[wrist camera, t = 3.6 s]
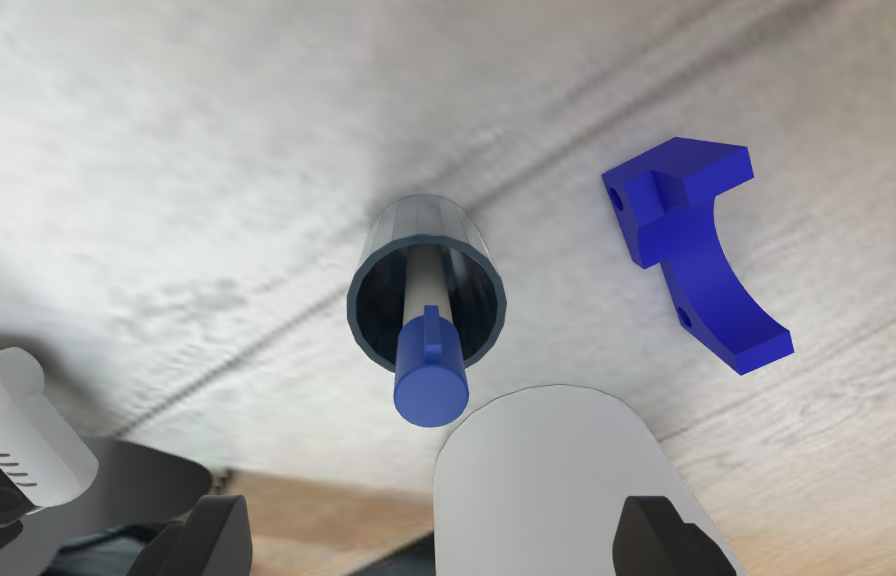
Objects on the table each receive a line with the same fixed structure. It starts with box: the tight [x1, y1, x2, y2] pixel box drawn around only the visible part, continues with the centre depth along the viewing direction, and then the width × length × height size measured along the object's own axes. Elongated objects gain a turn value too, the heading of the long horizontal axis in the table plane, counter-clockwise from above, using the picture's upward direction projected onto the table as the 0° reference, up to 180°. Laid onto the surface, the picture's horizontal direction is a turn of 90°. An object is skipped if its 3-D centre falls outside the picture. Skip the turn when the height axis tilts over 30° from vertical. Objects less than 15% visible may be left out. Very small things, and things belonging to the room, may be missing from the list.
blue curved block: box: [602, 137, 794, 376], centre depth 25 cm, size 12×4×6 cm, turn 27°
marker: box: [393, 243, 469, 427], centre depth 20 cm, size 2×3×14 cm
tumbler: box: [347, 194, 507, 373], centre depth 23 cm, size 7×7×8 cm
